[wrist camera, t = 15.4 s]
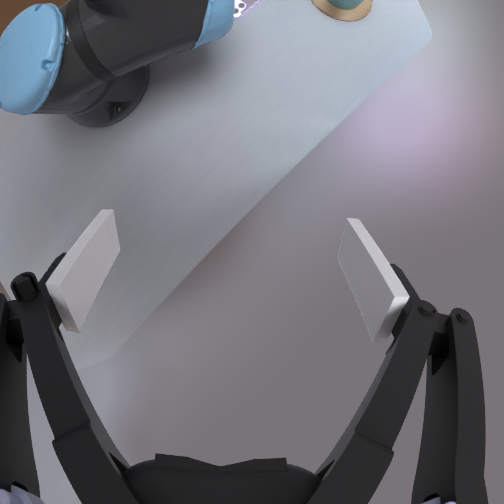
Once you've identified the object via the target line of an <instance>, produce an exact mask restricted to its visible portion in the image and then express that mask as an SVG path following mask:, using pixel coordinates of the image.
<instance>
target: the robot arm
mask: <svg viewBox="0 0 504 504" xmlns="http://www.w3.org/2000/svg"><path fill="white" fill-rule="evenodd" d="M234 12H235V0H69V1H67V2H66V3H64V4H62V5H61V6H59V7H57V6H56V5H54V4H52V3H47V4H36V5H33V6H31V7H28V8H27V9H25V10H24V11H22V12H21V13H20V14H19V15H17V16H16V17H15V18H14V19H13V20H12V21H11V23H10V24H9V25H8V27H7V28H6V29H5V31H4V32H3V34H2V36H1V37H0V108H2V110H5V111H7V112H11V113H18V114H21V115H28V114H66V115H67V116H69V117H70V118H71V119H72V120H73V121H75V122H76V123H78V124H81V125H84V126H88V127H104V126H108V125H112V124H114V123H116V122H118V121H120V120H122V119H123V118H125V117H126V116H127V115H129V114H130V113H131V112H132V111H133V110H134V109H135V107H136V106H137V105H138V104H139V102H140V101H141V99H142V97H143V95H144V93H145V90H146V88H147V84H148V79H149V66H148V64H150V63H152V62H155V61H157V60H160V59H163V58H165V57H168V56H171V55H174V54H177V53H180V52H182V51H186V50H189V49H190V50H193V49H195V48H197V47H198V46H199V45H202V44H205V43H208V42H211V41H214V40H217V39H220V38H221V37H223V36H224V35H225V34H227V33H228V32H229V31H230V29H231V27H232V24H233V21H234ZM119 252H120V245H119V240H118V235H117V229H116V223H115V217H114V210H113V209H102V210H101V211H100V212H99V213H98V214H97V216H96V217H95V218H94V219H93V220H92V222H91V223H90V224H89V225H88V227H87V228H86V229H85V230H84V232H83V233H82V234H81V235H80V237H79V238H78V239H77V240H76V242H75V243H74V244H73V246H72V247H71V248H70V250H69V251H68V252H67V253H62V254H61V255H60V256H58V257H57V258H56V259H55V260H54V262H53V263H52V264H51V266H50V267H49V269H48V271H46V273H45V274H44V276H43V277H42V278H41V280H40V281H39V283H38V281H37V279H36V276H35V274H34V273H32V272H25V273H21V274H20V275H18V276H17V277H15V278H14V279H13V281H12V282H11V286H10V287H11V289H12V291H13V294H14V296H15V298H16V300H12V301H7V299H6V297H5V295H4V294H2V293H0V504H45V503H44V502H43V501H42V500H41V499H40V490H39V482H38V476H37V470H36V466H35V460H34V455H33V448H32V441H31V434H30V425H29V415H28V401H27V372H26V370H27V368H26V366H27V365H26V364H27V354H28V358H29V362H30V366H31V370H32V373H33V377H34V380H35V384H36V387H37V390H38V393H39V396H40V399H41V402H42V405H43V408H44V411H45V414H46V416H47V419H48V422H49V424H50V427H51V429H52V432H53V434H54V438H55V439H54V440H53V441H52V444H53V447H54V450H55V452H56V455H57V457H58V459H59V461H60V463H61V465H62V467H63V470H64V472H65V473H66V475H67V477H68V479H69V481H70V483H71V485H72V487H73V489H74V491H75V492H76V494H77V496H78V497H79V499H80V501H81V503H82V504H368V502H369V501H370V499H371V498H372V496H373V494H374V492H375V491H376V489H377V487H378V485H379V483H380V482H381V480H382V478H383V476H384V474H385V472H386V470H387V469H388V467H389V465H390V463H391V460H392V458H393V455H394V452H393V451H392V447H393V445H394V442H395V440H396V438H397V436H398V434H399V432H400V429H401V427H402V425H403V422H404V420H405V418H406V415H407V413H408V410H409V408H410V405H411V403H412V400H413V397H414V395H415V392H416V389H417V386H418V383H419V380H420V377H421V375H422V371H423V368H424V365H425V362H426V359H427V381H426V398H425V411H424V422H423V431H422V439H421V446H420V452H419V459H418V465H417V470H416V476H415V480H414V485H413V492H412V501H411V504H488V498H487V493H486V486H485V480H484V464H485V404H484V390H483V380H482V372H481V363H480V356H479V349H478V343H477V338H476V332H475V327H474V322H473V319H472V317H471V316H470V314H469V313H468V312H466V311H465V310H463V309H461V308H454V309H453V310H452V311H451V313H450V315H444V314H440V313H438V312H437V310H436V308H435V307H434V306H433V305H432V304H430V303H429V302H427V301H424V300H420V298H419V297H418V295H417V293H416V292H415V290H414V288H413V287H412V285H411V284H410V283H409V281H408V279H407V278H406V276H405V274H404V273H403V271H402V270H401V269H400V268H398V267H397V266H396V265H395V264H389V263H388V261H387V260H386V258H385V256H384V255H383V253H382V252H381V250H380V249H379V247H378V246H377V244H376V243H375V242H374V240H373V239H372V237H371V236H370V234H369V233H368V231H367V230H366V229H365V227H364V226H363V224H362V223H361V222H360V220H359V219H352V218H347V219H346V223H345V228H344V232H343V235H342V239H341V243H340V247H339V251H338V255H337V260H338V263H339V265H340V267H341V269H342V271H343V274H344V276H345V278H346V280H347V283H348V285H349V287H350V289H351V292H352V294H353V296H354V299H355V301H356V303H357V306H358V308H359V311H360V313H361V315H362V318H363V320H364V323H365V325H366V328H367V330H368V333H369V335H370V338H371V340H372V342H381V341H387V339H388V337H389V336H390V334H391V332H392V334H393V336H394V340H393V342H392V344H391V345H390V347H389V349H388V350H387V352H386V357H385V359H384V361H383V363H382V365H381V367H380V369H379V371H378V373H377V375H376V377H375V379H374V381H373V383H372V385H371V386H370V388H369V390H368V392H367V394H366V396H365V398H364V399H363V401H362V403H361V405H360V407H359V408H358V410H357V412H356V414H355V415H354V417H353V419H352V420H351V422H350V424H349V425H348V427H347V428H346V430H345V432H344V433H343V435H342V436H341V438H340V440H339V441H338V443H337V444H336V446H335V447H334V449H333V451H332V452H331V453H330V455H329V456H328V457H327V459H326V460H325V461H324V462H323V464H322V465H321V466H320V467H319V469H318V470H317V471H316V472H315V474H313V473H312V472H310V471H308V470H306V469H304V468H301V467H299V466H294V465H290V464H287V462H286V458H273V459H253V460H249V461H244V462H240V463H236V464H231V465H226V466H216V465H212V464H209V463H205V462H202V461H198V460H195V459H192V458H189V457H182V456H173V455H165V454H157V453H156V455H155V460H148V461H144V462H141V463H138V464H136V465H134V466H131V467H130V466H129V464H128V463H127V461H126V460H125V459H124V458H123V456H122V455H121V454H120V452H119V451H118V449H117V448H116V446H115V445H114V443H113V442H112V440H111V438H110V436H109V435H108V433H107V431H106V429H105V428H104V426H103V424H102V422H101V420H100V419H99V417H98V415H97V413H96V411H95V409H94V407H93V405H92V403H91V401H90V399H89V397H88V395H87V393H86V391H85V389H84V387H83V385H82V383H81V380H80V378H79V376H78V374H77V371H76V369H75V367H74V364H73V362H72V360H71V357H70V355H69V352H68V350H67V347H66V345H65V342H64V339H63V337H62V334H61V331H60V329H59V326H60V324H61V322H62V323H63V325H64V327H65V329H66V331H72V332H79V333H80V330H81V328H82V326H83V324H84V322H85V319H86V317H87V315H88V313H89V311H90V309H91V307H92V305H93V302H94V300H95V298H96V296H97V294H98V292H99V290H100V288H101V286H102V284H103V282H104V280H105V278H106V277H107V275H108V273H109V271H110V269H111V267H112V265H113V263H114V261H115V260H116V258H117V256H118V254H119Z"/></svg>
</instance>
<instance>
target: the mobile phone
mask: <svg viewBox="0 0 504 504" xmlns="http://www.w3.org/2000/svg"><path fill="white" fill-rule="evenodd" d="M259 1H260V0H235V12H234V19H237V18H240V17H241V16H243V15H244V14H245V13H246V12H247V11H248V10H249V9H251V8H252V7H253V6H254V5H256V4H257V3H258V2H259Z"/></svg>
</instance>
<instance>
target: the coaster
mask: <svg viewBox="0 0 504 504" xmlns="http://www.w3.org/2000/svg"><path fill="white" fill-rule="evenodd" d="M311 1H312V2H313V4H314V5H315V6H316V7H317V8H318V9H319V10H320V11H322V12H323V13H325V14H326V15H328V16H330V17H332V18H335V19H338V20H343V21H356V20H359V19H362V18H363V17H365V16H366V15H367V14H368V13H369V12H370V10H371V7H372V0H363V1H362V2H361V3H360V4H359V5H358V6H357V7H356V8H354V9H350V10H345V9H340V8H337V7H335V6H333V5H332V4H330V3H329V2H328V1H327V0H311Z"/></svg>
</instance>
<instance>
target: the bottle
mask: <svg viewBox="0 0 504 504" xmlns="http://www.w3.org/2000/svg"><path fill="white" fill-rule="evenodd" d="M327 1H328V2H329V3H330V4H332V5H333V6H335V7H337V8H340V9H345V10H350V9H354V8H356V7H357V6H358V5H359V4H360V3H361V2H362V1H363V0H327Z"/></svg>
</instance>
